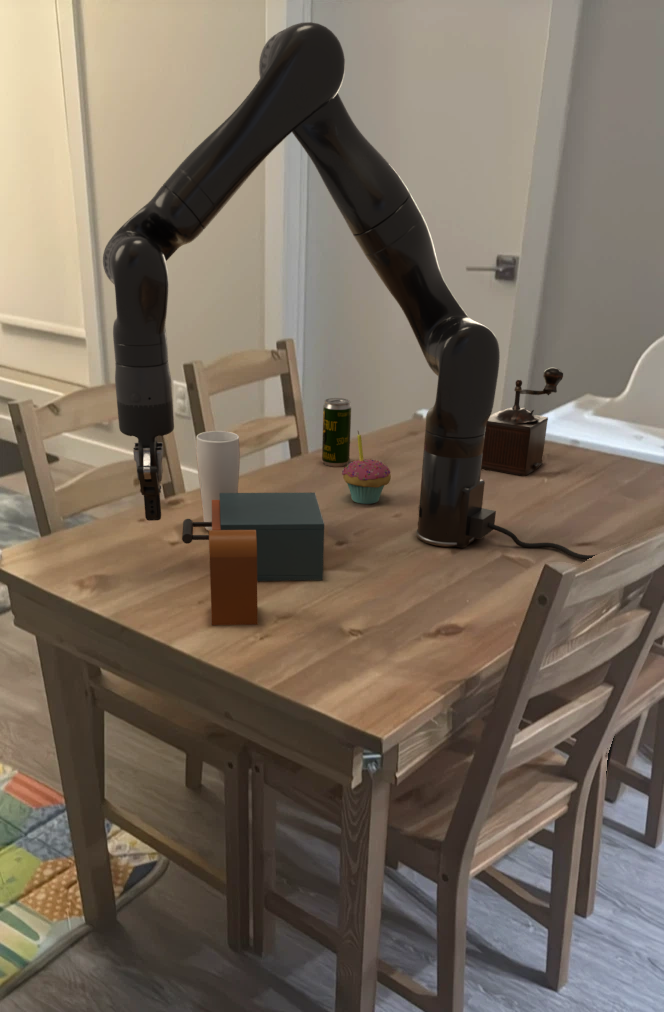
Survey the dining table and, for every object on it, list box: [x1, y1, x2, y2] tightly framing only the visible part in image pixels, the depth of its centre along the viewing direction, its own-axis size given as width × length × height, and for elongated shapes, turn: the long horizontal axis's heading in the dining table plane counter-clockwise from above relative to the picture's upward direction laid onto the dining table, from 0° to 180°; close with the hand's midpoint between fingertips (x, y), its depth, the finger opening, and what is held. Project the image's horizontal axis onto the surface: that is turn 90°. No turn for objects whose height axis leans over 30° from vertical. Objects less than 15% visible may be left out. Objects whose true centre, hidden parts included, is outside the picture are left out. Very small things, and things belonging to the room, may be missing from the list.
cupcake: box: [341, 429, 392, 505], centre depth 173 cm, size 9×8×12 cm
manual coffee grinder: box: [481, 366, 564, 477], centre depth 194 cm, size 16×11×18 cm
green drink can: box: [321, 397, 352, 468], centre depth 192 cm, size 5×5×12 cm
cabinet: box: [220, 491, 325, 582], centre depth 147 cm, size 15×14×9 cm
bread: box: [208, 530, 259, 626], centre depth 129 cm, size 6×5×12 cm
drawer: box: [181, 500, 221, 545], centre depth 146 cm, size 18×13×7 cm
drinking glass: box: [195, 430, 241, 532], centre depth 157 cm, size 7×7×15 cm
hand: (153, 518), depth 144 cm, fingers closed
